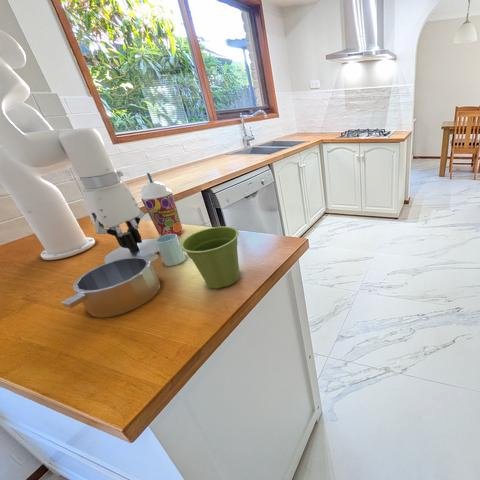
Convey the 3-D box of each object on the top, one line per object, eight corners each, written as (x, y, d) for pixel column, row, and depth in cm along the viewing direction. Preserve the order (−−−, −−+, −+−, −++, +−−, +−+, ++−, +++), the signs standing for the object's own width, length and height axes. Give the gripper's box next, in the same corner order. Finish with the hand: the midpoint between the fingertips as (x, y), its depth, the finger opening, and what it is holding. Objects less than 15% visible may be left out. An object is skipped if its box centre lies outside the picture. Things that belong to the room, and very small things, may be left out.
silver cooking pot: (59, 319, 59) (41, 294, 56) (143, 269, 75) (133, 248, 72) (102, 332, 55) (85, 306, 52) (182, 277, 70) (173, 254, 67)
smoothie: (173, 240, 89) (148, 177, 80) (151, 239, 91) (123, 177, 82) (191, 228, 97) (170, 169, 87) (170, 228, 98) (147, 169, 89)
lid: (93, 263, 79) (81, 242, 76) (142, 239, 91) (133, 220, 88) (129, 270, 74) (118, 248, 71) (176, 244, 86) (168, 224, 83)
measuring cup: (160, 264, 77) (150, 241, 73) (176, 255, 81) (167, 232, 78) (174, 267, 75) (164, 243, 72) (189, 257, 79) (181, 234, 76)
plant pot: (186, 297, 63) (168, 252, 58) (211, 267, 74) (197, 227, 68) (239, 295, 63) (225, 250, 57) (256, 265, 73) (246, 225, 68)
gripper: (122, 172, 81) (148, 231, 89) (55, 190, 67) (93, 258, 76) (141, 172, 78) (166, 233, 87) (75, 191, 65) (112, 261, 73)
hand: (132, 244), depth 81 cm, fingers closed on lid, 2 cm apart
